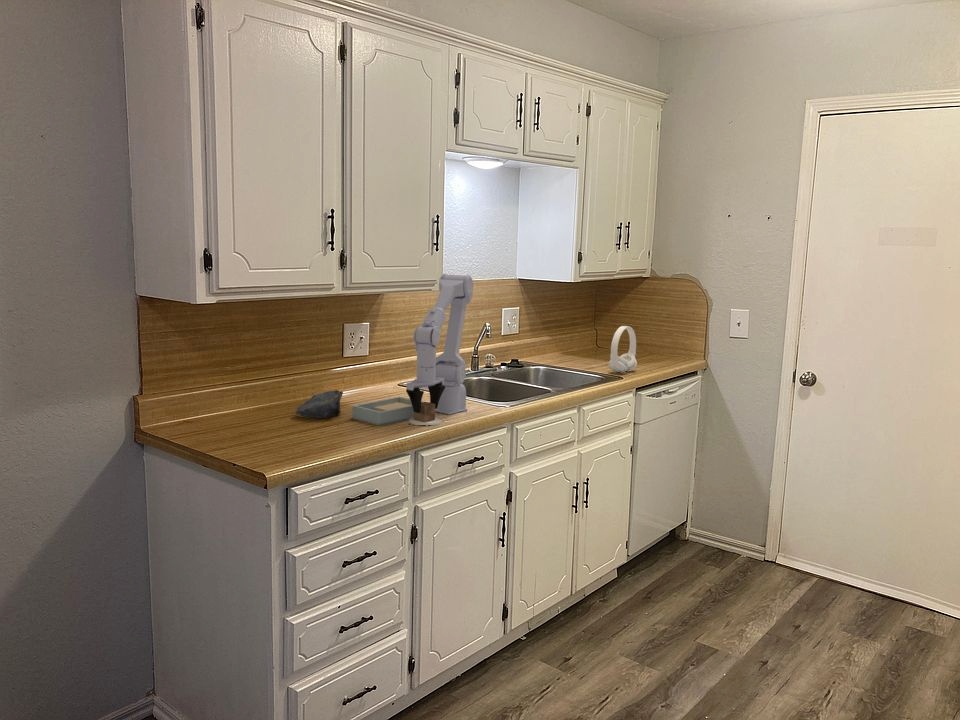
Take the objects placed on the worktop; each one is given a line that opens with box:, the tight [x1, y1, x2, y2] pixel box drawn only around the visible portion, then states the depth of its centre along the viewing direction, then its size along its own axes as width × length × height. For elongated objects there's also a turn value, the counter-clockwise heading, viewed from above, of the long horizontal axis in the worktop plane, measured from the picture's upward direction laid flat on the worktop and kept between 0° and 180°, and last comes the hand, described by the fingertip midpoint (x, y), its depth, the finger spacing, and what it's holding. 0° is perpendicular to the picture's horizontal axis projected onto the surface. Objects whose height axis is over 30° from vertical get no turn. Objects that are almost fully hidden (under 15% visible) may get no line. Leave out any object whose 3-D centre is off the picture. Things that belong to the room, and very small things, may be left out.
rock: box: [294, 389, 344, 419], centre depth 239 cm, size 16×8×10 cm
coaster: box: [408, 416, 443, 427], centre depth 236 cm, size 10×10×1 cm
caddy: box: [351, 396, 423, 427], centre depth 241 cm, size 20×12×4 cm, turn 141°
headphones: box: [607, 325, 638, 374], centre depth 333 cm, size 8×19×20 cm, turn 143°
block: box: [414, 401, 436, 422], centre depth 236 cm, size 4×4×5 cm
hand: (425, 410), depth 235 cm, fingers open, 7 cm apart
